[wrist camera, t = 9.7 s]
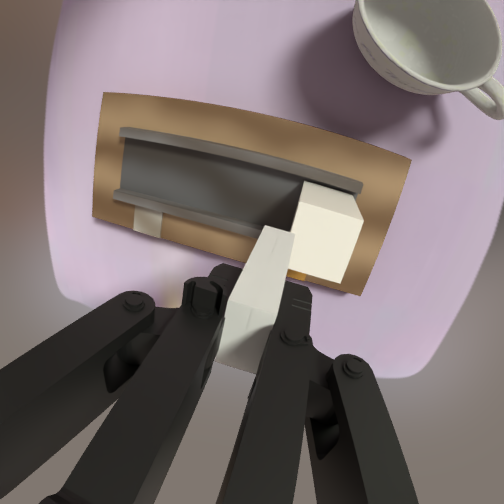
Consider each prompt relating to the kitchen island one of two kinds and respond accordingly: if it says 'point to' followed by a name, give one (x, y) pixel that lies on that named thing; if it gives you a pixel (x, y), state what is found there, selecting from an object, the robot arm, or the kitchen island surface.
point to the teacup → (434, 47)
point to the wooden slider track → (234, 177)
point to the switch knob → (324, 232)
